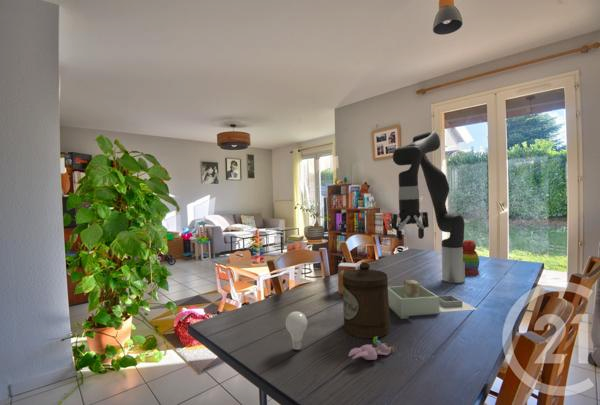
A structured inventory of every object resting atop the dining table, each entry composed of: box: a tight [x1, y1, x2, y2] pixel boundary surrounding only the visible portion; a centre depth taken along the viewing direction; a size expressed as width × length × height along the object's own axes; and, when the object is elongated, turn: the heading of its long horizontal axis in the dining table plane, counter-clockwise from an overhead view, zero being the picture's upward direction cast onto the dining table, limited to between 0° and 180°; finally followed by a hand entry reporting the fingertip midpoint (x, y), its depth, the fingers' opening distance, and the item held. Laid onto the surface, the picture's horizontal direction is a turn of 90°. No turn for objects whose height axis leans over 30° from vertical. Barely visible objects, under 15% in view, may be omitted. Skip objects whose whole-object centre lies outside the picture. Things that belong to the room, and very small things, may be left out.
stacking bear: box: [462, 239, 480, 276], centre depth 159 cm, size 11×10×18 cm
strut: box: [403, 279, 420, 298], centre depth 112 cm, size 4×4×10 cm
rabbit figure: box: [348, 336, 395, 361], centre depth 80 cm, size 6×6×15 cm
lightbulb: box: [285, 311, 308, 351], centre depth 86 cm, size 6×6×11 cm
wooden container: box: [342, 261, 390, 339], centre depth 98 cm, size 15×15×22 cm
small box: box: [337, 262, 358, 295], centre depth 133 cm, size 8×6×13 cm
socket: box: [437, 294, 478, 313], centre depth 114 cm, size 14×14×3 cm
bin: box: [388, 284, 440, 320], centre depth 112 cm, size 14×14×7 cm
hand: (410, 239), depth 115 cm, fingers open, 8 cm apart
